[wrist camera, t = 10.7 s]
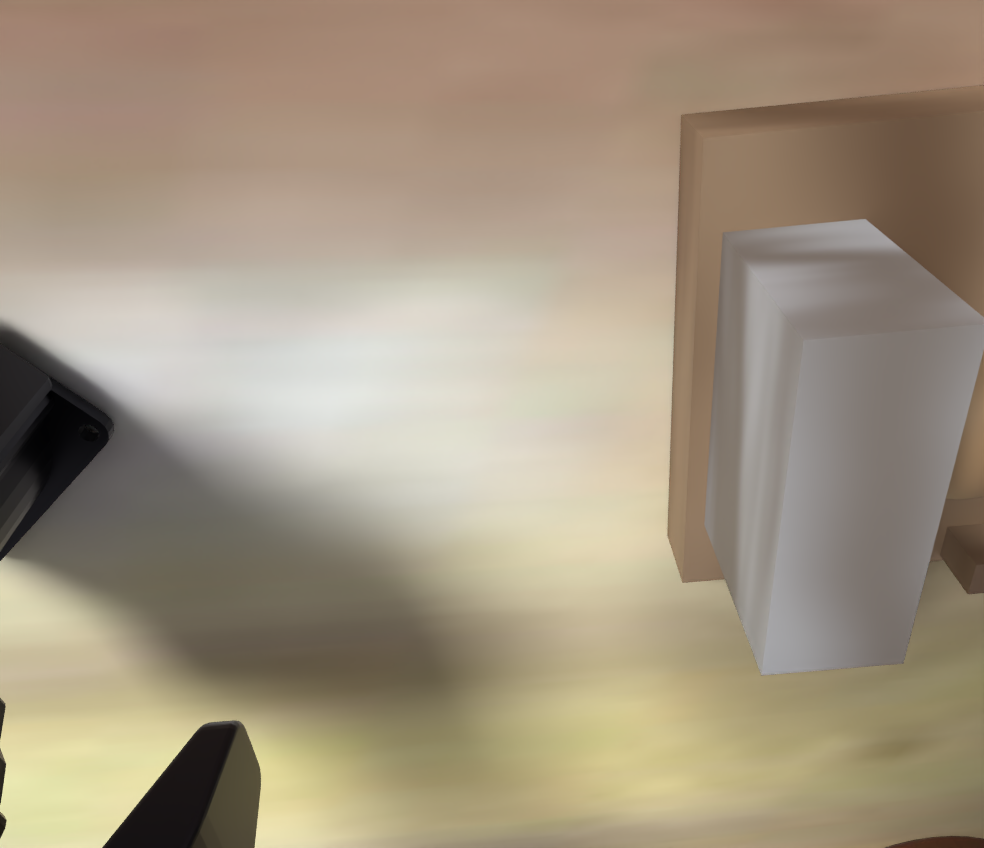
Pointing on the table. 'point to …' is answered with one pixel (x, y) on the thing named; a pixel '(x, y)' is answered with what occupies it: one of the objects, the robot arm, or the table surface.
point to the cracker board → (818, 181)
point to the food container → (943, 843)
